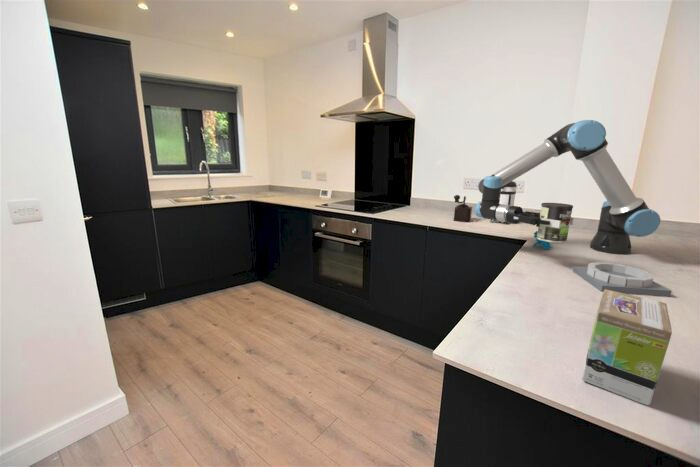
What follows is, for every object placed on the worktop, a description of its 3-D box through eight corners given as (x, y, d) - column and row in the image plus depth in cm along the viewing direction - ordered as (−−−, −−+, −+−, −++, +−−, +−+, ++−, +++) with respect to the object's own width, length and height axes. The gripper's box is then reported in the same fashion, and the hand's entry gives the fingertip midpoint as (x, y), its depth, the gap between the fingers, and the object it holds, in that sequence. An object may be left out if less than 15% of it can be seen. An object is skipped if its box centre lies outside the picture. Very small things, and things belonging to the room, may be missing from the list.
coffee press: (519, 224, 202) (526, 177, 195) (494, 224, 203) (500, 177, 196) (507, 219, 219) (512, 175, 212) (484, 219, 219) (489, 175, 212)
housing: (629, 275, 116) (632, 263, 115) (670, 296, 98) (673, 283, 97) (572, 271, 120) (574, 259, 118) (601, 291, 101) (603, 278, 100)
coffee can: (573, 241, 122) (579, 205, 118) (555, 244, 118) (561, 206, 114) (547, 235, 131) (552, 201, 128) (530, 237, 127) (535, 203, 124)
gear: (545, 248, 144) (532, 230, 149) (534, 254, 148) (522, 237, 153) (556, 248, 150) (544, 230, 155) (545, 254, 154) (533, 237, 159)
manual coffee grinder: (454, 218, 222) (456, 192, 218) (471, 219, 217) (474, 193, 213) (451, 222, 209) (453, 195, 204) (468, 224, 204) (471, 196, 199)
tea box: (652, 409, 54) (674, 331, 50) (580, 381, 60) (595, 311, 57) (649, 367, 65) (667, 300, 61) (589, 347, 71) (602, 286, 68)
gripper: (522, 219, 144) (577, 229, 126) (493, 225, 132) (550, 236, 114) (524, 203, 142) (581, 210, 124) (495, 207, 130) (553, 216, 112)
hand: (566, 222), depth 119 cm, fingers closed on coffee can, 10 cm apart
